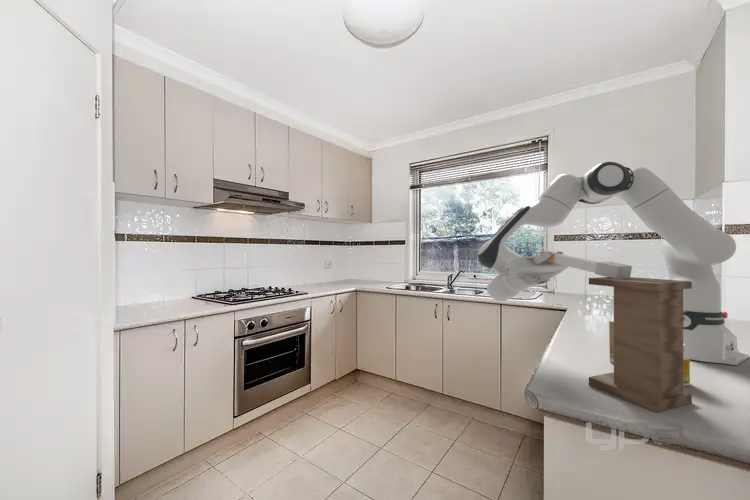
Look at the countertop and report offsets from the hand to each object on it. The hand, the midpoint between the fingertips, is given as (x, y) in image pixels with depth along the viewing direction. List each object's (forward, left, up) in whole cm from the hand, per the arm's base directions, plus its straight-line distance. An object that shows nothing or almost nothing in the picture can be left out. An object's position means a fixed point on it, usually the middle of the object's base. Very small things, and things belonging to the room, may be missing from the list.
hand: (556, 253), depth 93 cm
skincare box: (-18, +7, -32) cm, 37 cm away
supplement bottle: (-16, +20, -32) cm, 41 cm away
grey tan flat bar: (0, +7, -4) cm, 8 cm away
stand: (0, +21, -32) cm, 38 cm away
